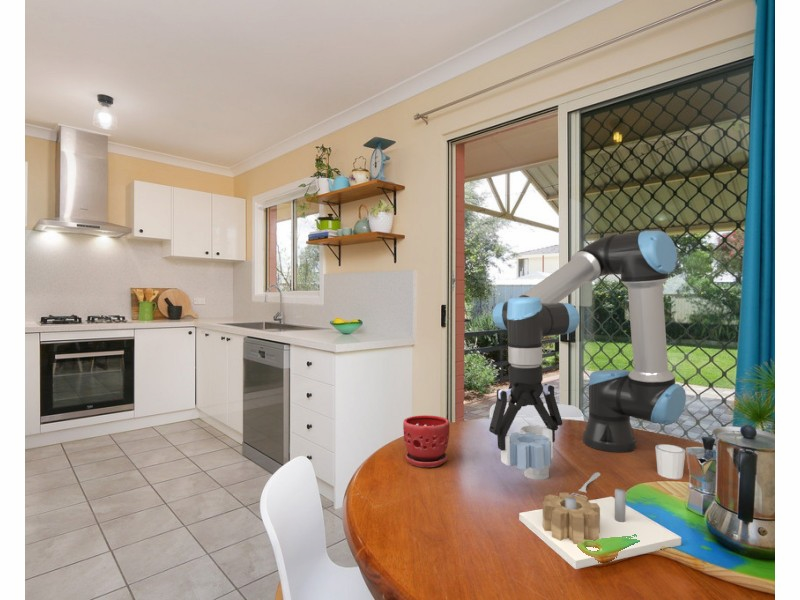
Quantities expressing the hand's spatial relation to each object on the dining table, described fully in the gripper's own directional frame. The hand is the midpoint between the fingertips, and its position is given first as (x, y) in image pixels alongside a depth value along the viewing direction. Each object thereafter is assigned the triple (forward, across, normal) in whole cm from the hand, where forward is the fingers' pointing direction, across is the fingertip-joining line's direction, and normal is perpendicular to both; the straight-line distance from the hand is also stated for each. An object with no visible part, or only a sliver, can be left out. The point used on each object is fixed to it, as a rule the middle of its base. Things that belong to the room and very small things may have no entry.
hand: (527, 459), depth 106 cm
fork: (+11, -19, -3) cm, 22 cm away
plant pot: (+10, +14, -30) cm, 34 cm away
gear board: (+10, -5, +16) cm, 20 cm away
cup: (+10, -10, -12) cm, 19 cm away
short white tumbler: (+11, -43, -1) cm, 45 cm away
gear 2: (+8, +1, +16) cm, 18 cm away
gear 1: (0, 0, 0) cm, 0 cm away
